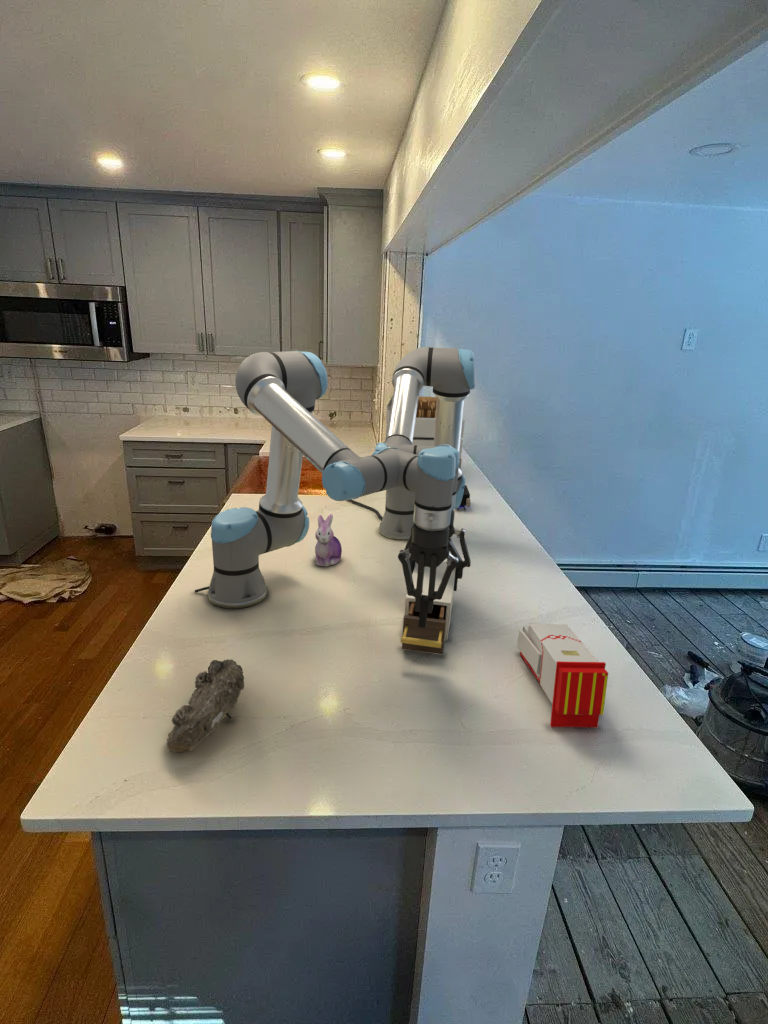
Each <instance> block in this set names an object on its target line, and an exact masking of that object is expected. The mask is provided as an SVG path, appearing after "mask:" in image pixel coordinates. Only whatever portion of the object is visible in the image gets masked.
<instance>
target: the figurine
mask: <svg viewBox="0 0 768 1024" xmlns="http://www.w3.org/2000/svg"><path fill="white" fill-rule="evenodd" d="M333 520H334V514H332V513H330V514H329V515H328V516H327V518H326V519H324V517H323V515H322V514H319V515H318V516H317V529H316V531H315V534H314V536H315V537H314V538H315V539H316V543H315V546H314V553H315V558H314V561H315V565H316V566H319V567H320V566H321V567H328V566H334V565H336V564H338V563H340V562H341V559H342V553H343V549H342V544H341V542H340V540H339V538H337V537H336V536H335V535H334V531H333V529H332V523H333Z"/></svg>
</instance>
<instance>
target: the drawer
mask: <svg viewBox="0 0 768 1024" xmlns="http://www.w3.org/2000/svg"><path fill="white" fill-rule="evenodd" d="M419 613H420V612H416V611H415V602H411V606H410V610H409V615H405V614H404V615H403V620H402V621H403V623H402V635H401V637H400V643H401V650H407V651H414V652H422V653H428V654H436V655H442V656H443V654H444V649H445V640H444V638H445V627H446V620H444V619H445V613H446V606H443V605H436V604H433V610H432V613H427V620H426V626H425V628H422V627H418V624H419Z"/></svg>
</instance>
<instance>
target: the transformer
mask: <svg viewBox="0 0 768 1024" xmlns="http://www.w3.org/2000/svg"><path fill="white" fill-rule="evenodd" d="M392 398H393V395H391V398H390V400H389V402H388V404H387V405H386V413H385V414H386V415H385V423H386V428H385V433H386V432H387V427H388V421H389V415H390V409H391V403H392ZM436 405H437V397H436V396H419V398H418V405H417V413H416V421H415V428H414V436H413V443H412V445H417V446H433V447H434V433H435V419H436ZM464 429H465V419H464V418H462V429H461V439H460V450H459V454H460V455H459V460H460V464H459V469H460V470H461V471H462V461H463V460H462V453H463V442H464V441H463V440H462V439H463V438H464V431H465V430H464Z"/></svg>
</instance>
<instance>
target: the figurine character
mask: <svg viewBox="0 0 768 1024" xmlns="http://www.w3.org/2000/svg"><path fill="white" fill-rule="evenodd" d="M466 507H468V508H470V507H471V493H470V491H469V488H468V486H467V485H466V484H465V487H464V493H463V497H462V501H461V504H460V506H459V507H458V508H457V509H456V510H457V511H459V510H460V509H463V511H465V512H466V511H467V508H466Z"/></svg>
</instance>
